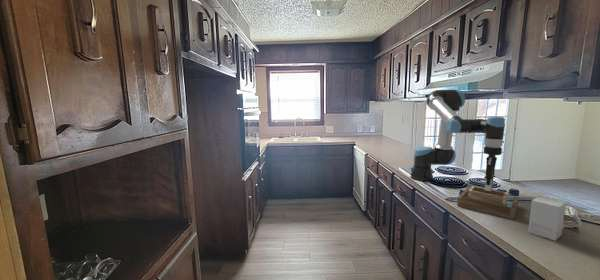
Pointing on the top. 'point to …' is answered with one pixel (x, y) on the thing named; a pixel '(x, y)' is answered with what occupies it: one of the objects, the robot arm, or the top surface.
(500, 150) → the robot arm
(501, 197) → the crate
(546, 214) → the supplement box
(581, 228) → the top surface
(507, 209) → the bay
